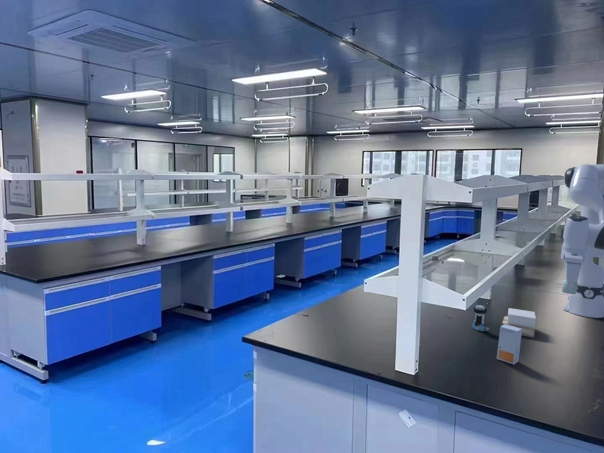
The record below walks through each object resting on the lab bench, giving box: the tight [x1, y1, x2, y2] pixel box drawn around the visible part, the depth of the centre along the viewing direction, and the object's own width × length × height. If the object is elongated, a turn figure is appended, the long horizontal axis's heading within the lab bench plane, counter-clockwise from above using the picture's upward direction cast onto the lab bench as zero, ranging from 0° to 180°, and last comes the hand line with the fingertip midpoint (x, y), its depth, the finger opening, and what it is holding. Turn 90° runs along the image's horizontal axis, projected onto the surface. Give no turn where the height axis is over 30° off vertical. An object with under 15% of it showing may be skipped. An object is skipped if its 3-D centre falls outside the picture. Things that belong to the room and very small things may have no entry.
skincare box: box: [496, 324, 522, 366], centre depth 153 cm, size 6×4×12 cm
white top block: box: [507, 307, 537, 329], centre depth 185 cm, size 10×10×4 cm
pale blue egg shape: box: [561, 278, 577, 295], centre depth 182 cm, size 5×5×5 cm
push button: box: [471, 304, 490, 332], centre depth 184 cm, size 7×5×10 cm
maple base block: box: [501, 315, 536, 339], centre depth 186 cm, size 12×12×4 cm
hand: (569, 288), depth 182 cm, fingers closed on pale blue egg shape, 5 cm apart
